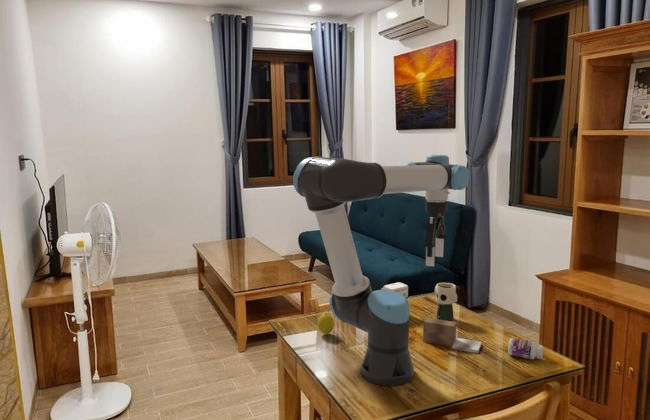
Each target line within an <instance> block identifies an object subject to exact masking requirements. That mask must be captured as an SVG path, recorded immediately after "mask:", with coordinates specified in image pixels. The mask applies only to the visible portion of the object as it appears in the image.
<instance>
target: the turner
mask: <svg viewBox="0 0 650 420" xmlns="http://www.w3.org/2000/svg"><path fill="white" fill-rule="evenodd" d="M422 326H423V328H422V331H423V332H422V342H425V343H430V344H436V345H442V346H446V347H451V348H452V349H453V350H456V351H457V350H459V351H463V352H469V353H476V354H479V352H480V349H481V346H482V341H479V340H478V341H477V340H473V339H466V338H462V337H457V321H451V320H440V318H431V317H425V318H424V320H423V325H422Z"/></svg>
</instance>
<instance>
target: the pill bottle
mask: <svg viewBox="0 0 650 420" xmlns="http://www.w3.org/2000/svg"><path fill="white" fill-rule="evenodd" d="M507 350H508V351H507V353H508V355H509V356H512V357H519V358H523V359H529V360H535V358H537V359H539V360H543V357H544V356H543V354H544V346H543V345H541V344H538V345H537V344H536V342H535V341H532V340H525V339H519V338H515V337H511V338H509V341H508V349H507Z"/></svg>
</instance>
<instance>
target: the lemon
mask: <svg viewBox="0 0 650 420" xmlns="http://www.w3.org/2000/svg"><path fill="white" fill-rule="evenodd" d="M334 326H335V323H334V318H333V316H332V315H331V314H330V313H327V312H324V313H322V314H320V316H319V317H318V320H317V328H318V330H319V332H320V333H321V334H324V335H325V336H327V335H328V334H331V333H332V331H333V330H334V328H335V327H334Z"/></svg>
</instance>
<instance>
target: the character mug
mask: <svg viewBox="0 0 650 420" xmlns="http://www.w3.org/2000/svg"><path fill="white" fill-rule="evenodd" d="M456 290H457V285H456V284H454V283H451V282H438V283H437V284H436V285H435V287H434V295H435V301H436V302H437V303H438V304H437V311H436V319H439V320H446V321H451V320H453V319H454V306H453V304H455V303H458V294H457V291H456Z"/></svg>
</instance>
